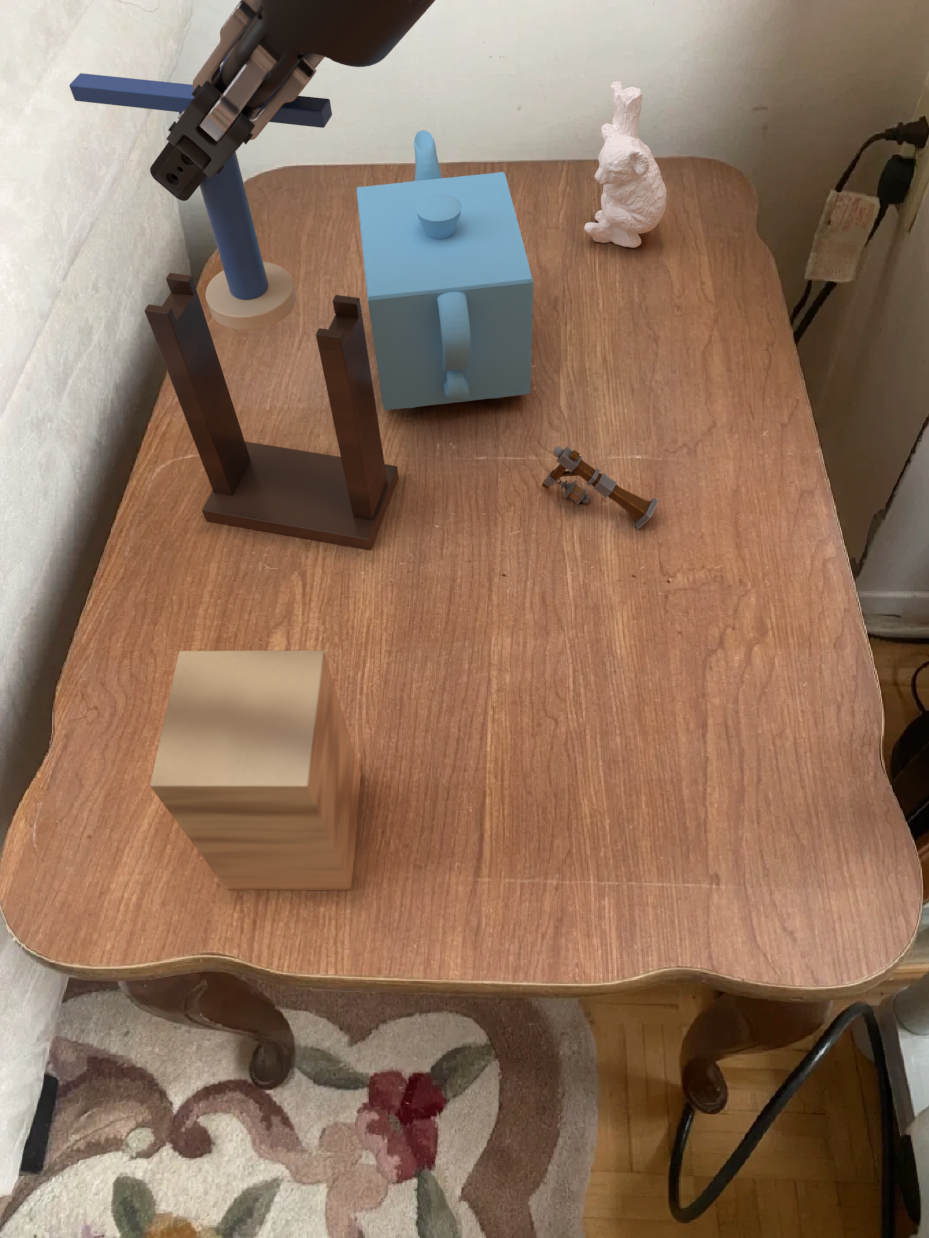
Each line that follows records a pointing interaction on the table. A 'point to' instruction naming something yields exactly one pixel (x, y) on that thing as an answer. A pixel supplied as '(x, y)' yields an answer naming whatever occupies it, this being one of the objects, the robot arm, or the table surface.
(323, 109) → the bar
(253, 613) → the table surface
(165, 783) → the riser
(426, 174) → the teapot
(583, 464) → the hanging lantern post
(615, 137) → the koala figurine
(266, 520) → the stand
